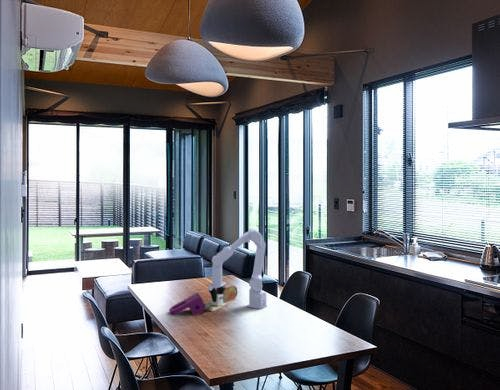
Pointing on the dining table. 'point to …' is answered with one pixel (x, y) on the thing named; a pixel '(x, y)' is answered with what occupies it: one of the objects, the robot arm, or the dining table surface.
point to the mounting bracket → (189, 305)
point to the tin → (229, 293)
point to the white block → (218, 300)
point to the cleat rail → (214, 306)
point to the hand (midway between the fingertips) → (217, 300)
